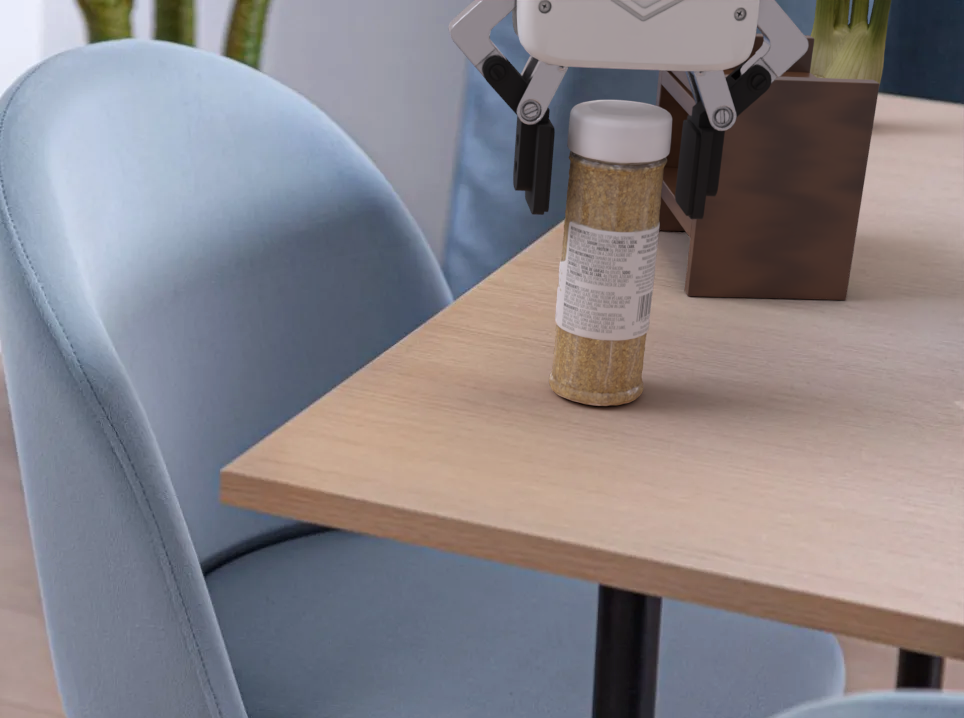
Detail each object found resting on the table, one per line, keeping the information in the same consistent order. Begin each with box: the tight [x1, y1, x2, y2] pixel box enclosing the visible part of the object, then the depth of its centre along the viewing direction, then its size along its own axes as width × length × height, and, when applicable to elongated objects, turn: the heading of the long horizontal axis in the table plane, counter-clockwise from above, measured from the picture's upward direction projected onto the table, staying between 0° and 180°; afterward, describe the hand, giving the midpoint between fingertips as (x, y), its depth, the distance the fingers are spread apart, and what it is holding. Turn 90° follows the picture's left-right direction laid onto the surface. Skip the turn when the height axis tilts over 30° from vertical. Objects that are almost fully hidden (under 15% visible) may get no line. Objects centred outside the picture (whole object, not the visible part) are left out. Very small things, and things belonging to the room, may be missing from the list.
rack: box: [655, 32, 880, 301], centre depth 102 cm, size 9×14×12 cm, turn 4°
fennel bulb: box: [810, 0, 892, 86], centre depth 136 cm, size 6×5×12 cm
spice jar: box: [548, 99, 672, 407], centre depth 81 cm, size 5×5×14 cm
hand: (612, 205), depth 80 cm, fingers open, 6 cm apart
